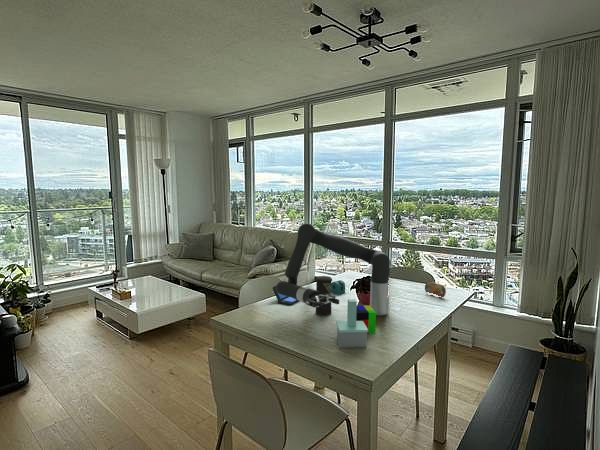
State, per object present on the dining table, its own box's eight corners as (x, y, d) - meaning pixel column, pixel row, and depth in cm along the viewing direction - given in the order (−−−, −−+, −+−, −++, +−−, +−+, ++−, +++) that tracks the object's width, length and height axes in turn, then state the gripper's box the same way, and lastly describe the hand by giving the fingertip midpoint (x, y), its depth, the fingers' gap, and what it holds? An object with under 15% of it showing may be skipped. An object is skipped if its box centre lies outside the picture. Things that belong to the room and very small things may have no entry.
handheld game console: (290, 306, 195) (290, 290, 194) (271, 302, 202) (271, 287, 201) (304, 299, 208) (304, 284, 207) (286, 295, 215) (286, 281, 214)
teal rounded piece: (345, 293, 222) (345, 281, 221) (338, 295, 217) (338, 283, 216) (325, 287, 235) (325, 276, 234) (318, 289, 230) (318, 277, 230)
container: (330, 316, 179) (331, 279, 177) (313, 315, 181) (314, 278, 179) (332, 311, 187) (333, 275, 185) (316, 309, 189) (316, 274, 187)
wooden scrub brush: (424, 293, 222) (424, 280, 221) (427, 292, 223) (428, 280, 222) (442, 299, 208) (443, 286, 208) (446, 299, 210) (447, 285, 209)
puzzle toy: (349, 325, 167) (349, 305, 166) (369, 325, 168) (369, 305, 167) (354, 334, 157) (354, 312, 156) (375, 333, 158) (375, 312, 157)
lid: (362, 323, 152) (363, 296, 151) (368, 332, 142) (368, 304, 141) (335, 323, 151) (336, 296, 150) (339, 332, 142) (340, 304, 140)
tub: (361, 338, 152) (361, 323, 151) (366, 347, 143) (366, 331, 143) (337, 338, 152) (337, 323, 151) (340, 348, 143) (340, 332, 142)
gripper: (296, 291, 161) (321, 299, 149) (318, 285, 171) (343, 293, 159) (296, 306, 162) (321, 316, 150) (317, 300, 171) (342, 308, 159)
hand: (332, 304), depth 154 cm, fingers open, 8 cm apart
